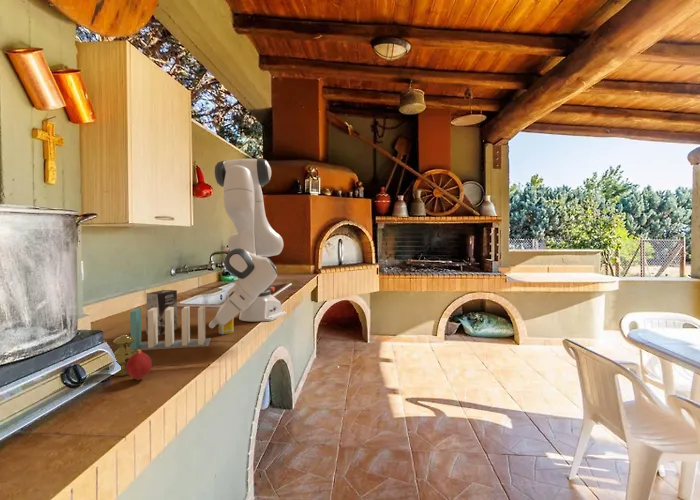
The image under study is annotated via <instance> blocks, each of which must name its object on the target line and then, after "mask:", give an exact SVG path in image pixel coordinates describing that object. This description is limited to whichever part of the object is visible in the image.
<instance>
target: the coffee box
mask: <svg viewBox="0 0 700 500" xmlns="http://www.w3.org/2000/svg"><path fill="white" fill-rule="evenodd" d="M145 294H146V295H145V297H146V301H145V302H146V303H145V305H146V309H145V310H146V313H145V314H146V315H145V317H146V320H145V321H146V322H145V323H146V325H145V326H146V330H145V334H146V335H148V310H150V309H151V308H158V336H162V335H165V310H166V309H167V308H168V307H174V331H176V330H177V329H178V290H173V289H165V290H164V289H162V290H156V291H151V292H147V293H145Z"/></svg>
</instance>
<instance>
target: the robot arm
mask: <svg viewBox="0 0 700 500" xmlns="http://www.w3.org/2000/svg"><path fill="white" fill-rule="evenodd" d="M213 171H214V173H213V174H214V178H215V180H216V183H217V184H218V186H220V187H221V188H222V189H223V194H222V195H223V196H222V198H223V205H224V206H223V207H224V210H225V213H226V214H227V216H228V217H229V219H230V220H231V223H233V225H234V226H235V227H234V228H235V230H236V232H235V233H231V235H230V236H229V237H228V239H227V247H228V250H229V252H228V253H226V255H225V256H224V262H223V264H224V268H225V269H226V271H227V272H228V273H229V274H231V275H233V276H234V277H236V278H237V279H238V281H236V282H235V284H234V285H233V286H232V287H231V288H229V290H228V291H227V294H228V296H226V300H225V301H224V302H223V303H222V304H221V305H220V306H219V309H218V310H217V313H216V314H215V316H214V317H213V319H212V320H211V321H210V322H209V323H208V327H209V328H210V329H214V328H215V327H216V326H217V325H219V324H220V325H221V326H223V325H225V324H226V323H227V322H229V321H230V320H231V319H232V318H233V317H234V318H235V317H236V316H237V315H238V314H239V317H238V319H239V320H240V321H243V322H272V321H274V320H276V319H279V318H281V317H284V316H285V315H287V312H286V311H285V310H282V303H281V301H280V300H279V299H277V298H276V297H275V296H273V294H272V293H271V292H275V286H271V285H272V284H273V283H274V281H275V280H276V279H277V277H278V275H279V271H278V268H277V266H276V265H275V264H274V262H273V261H272V260H271V259H270V258H269V257H273V256H278V255H280V254H281V253H282V251H283V249H284V239H283V237H282V236H281V235H280V234H279V233H278V232H276V230H275V229H273V227H272V226H271V224H270V222H269V221H268V218H267V216H266V210H265V204H264V203H265V202H264V194H263V191H262V188H264V187H265V186H266V185H267V184H268V183H270V181H271V177H272V167H271V166H270V164H269V161H267V160H266V159H264V158H260V157H259V158H239V159H238V158H237V159H231V160H220V161H218V162H217V163H216V164H215V166H214V170H213Z"/></svg>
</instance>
